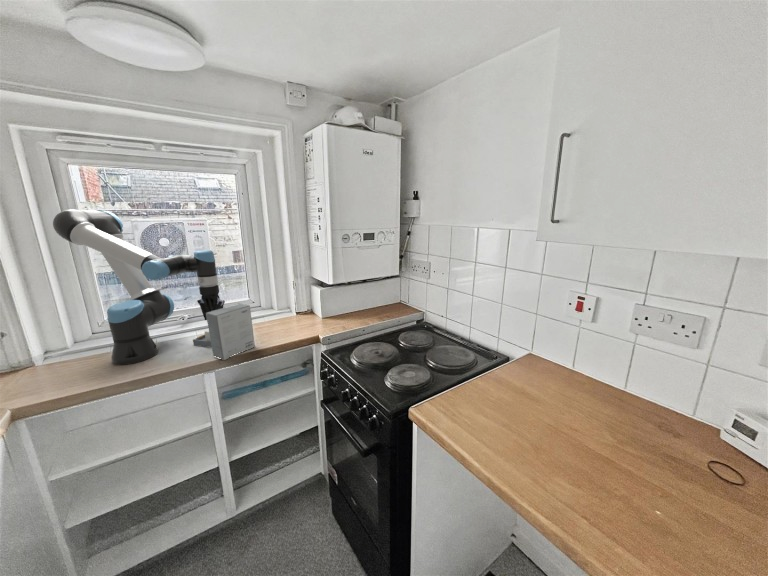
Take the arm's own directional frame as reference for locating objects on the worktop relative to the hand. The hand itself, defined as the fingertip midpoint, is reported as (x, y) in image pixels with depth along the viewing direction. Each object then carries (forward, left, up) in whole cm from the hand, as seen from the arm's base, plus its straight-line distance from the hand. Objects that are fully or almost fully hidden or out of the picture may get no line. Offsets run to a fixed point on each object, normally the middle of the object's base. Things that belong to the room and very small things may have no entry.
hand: (215, 334), depth 138 cm
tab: (-3, 0, -3) cm, 4 cm away
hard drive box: (+14, -6, -5) cm, 16 cm away
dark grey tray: (-3, +6, -5) cm, 8 cm away
